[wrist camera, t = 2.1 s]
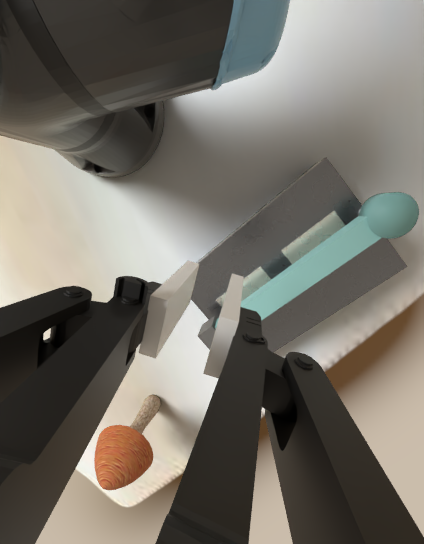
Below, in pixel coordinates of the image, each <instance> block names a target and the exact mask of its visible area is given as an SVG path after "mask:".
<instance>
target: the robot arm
mask: <svg viewBox="0 0 424 544" xmlns="http://www.w3.org/2000/svg"><path fill="white" fill-rule="evenodd" d="M289 3H290V0H0V135H1V136H5V137H9V138H13V139H16V140H20V141H24V142H28V143H32V144H36V145H40V146H44V147H48V148H52V149H54V150H56V151H57V152H58V153H59V154H60V155H62V156H63V157H64V158H65V159H67V160H68V161H69V162H70V163H71V164H73V165H74V166H76V167H78V168H79V169H81V170H83V171H86V172H88V173H91V174H95V175H100V176H106V177H119V176H124V175H127V174H130V173H132V172H134V171H136V170H138V169H139V168H141V167H142V166H143V165H144V164H145V163H146V162H147V161H148V160H149V159H150V158H151V156H152V155H153V153H154V152H155V150H156V148H157V146H158V144H159V141H160V138H161V135H162V131H163V124H164V108H163V101H162V100H166V99H170V98H174V97H178V96H182V95H186V94H190V93H194V92H198V91H202V90H205V89H209V88H211V89H212V90H216V89H218V88H219V87H220V86H221V84H224V83H227V82H230V81H233V80H236V79H239V78H242V77H245V76H248V75H251V74H254V73H256V72H258V71H260V70H262V69H263V68H264V67H265V66H266V65H267V64H268V63H269V62H270V60H271V59H272V57H273V55H274V54H275V52H276V50H277V47H278V44H279V41H280V39H281V37H282V33H283V30H284V26H285V22H286V17H287V13H288V8H289ZM198 268H199V264H198V263H194V262H191V261H187V262H186V263H185V264H184V265H183V266H182V267H181V268H180V269H178V270H177V271H176V272H175V273H174V274H173V275H172V276H171V277H170V278H169V279H168V280H167V281H165V282H164V283H163V284H159V283H156V282H147V281H145V280H143V279H140V278H137V277H132V276H122V277H118V278H116V283H115V290H114V296H113V298H112V299H111V300H110V301H109V302H107V303H103V302H96V301H91V298H92V293H91V292H90V291H89V290H87V289H85V288H81V287H78V286H77V287H76V286H71V287H62V288H58V289H55V290H52V291H49V292H46V293H43V294H40V295H37V296H34V297H31V298H28V299H25V300H22V301H19V302H16V303H14V304H11V305H8V306H5V307H2V308H0V544H35V543H36V541H37V539H38V537H39V535H40V533H41V531H42V530H43V528H44V526H45V524H46V522H47V520H48V518H49V517H50V515H51V513H52V511H53V509H54V507H55V505H56V503H57V502H58V500H59V498H60V496H61V494H62V492H63V490H64V489H65V486H66V485H67V483H68V481H69V479H70V477H71V475H72V474H73V472H74V470H75V468H76V466H77V464H78V462H79V461H80V459H81V457H82V455H83V453H84V451H85V449H86V447H87V446H88V444H89V442H90V440H91V438H92V436H93V434H94V433H95V431H96V429H97V427H98V425H99V423H100V421H101V419H102V418H103V416H104V414H105V412H106V410H107V408H108V406H109V405H110V403H111V401H112V399H113V397H114V395H115V393H116V391H117V390H118V388H119V386H120V384H121V382H122V380H123V378H124V377H125V375H126V373H127V371H128V369H129V367H130V365H131V363H132V362H133V360H134V357H135V352H136V348H137V347H138V345H139V344H140V343H141V345H140V349H139V353H140V354H144V355H147V356H150V357H153V358H156V357H157V355H158V353H159V352H160V350H161V349H162V347H163V345H164V344H165V342H166V340H167V339H168V337H169V336H170V334H171V332H172V331H173V329H174V327H175V326H176V324H177V323H178V321H179V319H180V318H181V316H182V314H183V313H184V311H185V310H186V308H187V306H188V305H189V303H190V300H191V296H192V292H193V288H194V284H195V280H196V276H197V272H198ZM243 278H244V277H243V276H240V275H236V274H233V273H232V275H231V278H230V282H229V285H228V289H227V292H226V295H225V299H224V302H223V306H222V309H221V313H220V316H219V320H218V323H217V327H216V331H215V334H214V338H213V341H212V345H211V348H210V352H209V356H208V359H207V363H206V366H205V370H204V373H203V374H206V375H210V376H213V377H216V378H219V379H218V382H217V385H216V387H215V390H214V393H213V396H212V398H211V401H210V404H209V406H208V409H207V412H206V414H205V417H204V420H203V423H202V425H201V428H200V431H199V433H198V436H197V439H196V441H195V444H194V447H193V450H192V452H191V455H190V458H189V460H188V463H187V466H186V468H185V471H184V474H183V477H182V479H181V482H180V485H179V487H178V490H177V493H176V495H175V498H174V501H173V503H172V506H171V509H170V511H169V514H167V516H166V518H165V521H164V523H163V526H162V528H161V531H160V533H159V536H158V539H157V542H156V544H248V542H249V531H250V521H251V511H252V501H253V490H254V481H255V471H256V460H257V450H258V439H259V430H260V420H261V410H262V407H263V408H265V418H266V422H267V427H268V432H269V436H270V441H271V445H272V450H273V454H274V459H275V463H276V468H277V473H278V477H279V482H280V486H281V491H282V496H283V500H284V505H285V509H286V514H287V518H288V522H289V527H290V532H291V537H292V541H293V544H424V537H423V535H422V534H421V532H420V530H419V529H418V527H417V525H416V524H415V522H414V520H413V519H412V517H411V515H410V514H409V512H408V510H407V509H406V507H405V505H404V504H403V502H402V500H401V499H400V497H399V495H398V494H397V492H396V490H395V489H394V487H393V485H392V484H391V482H390V481H389V479H388V477H387V476H386V474H385V472H384V470H383V469H382V467H381V466H380V464H379V462H378V460H377V459H376V457H375V456H374V454H373V452H372V450H371V449H370V447H369V446H368V444H367V442H366V441H365V439H364V437H363V436H362V434H361V432H360V431H359V429H358V427H357V426H356V424H355V423H354V421H353V419H352V417H351V416H350V414H349V412H348V411H347V409H346V407H345V406H344V404H343V402H342V401H341V399H340V397H339V396H338V394H337V392H336V391H335V389H334V388H333V386H332V384H331V383H330V381H329V379H328V377H327V376H326V374H325V372H324V371H323V369H322V367H321V366H320V365H319V364H318V363H317V362H316V361H315V360H314V359H312V358H311V357H310V356H308V355H306V354H302V353H298V352H290V353H288V354H287V355H286V358H285V359H284V358H282V357H280V356H278V355H276V354H275V353H273V352H271V351H270V350H269V349H268V342H267V340H266V338H265V337H264V336H262V325H261V316H260V315H259V314H258V313H257V312H256V311H253V310H250V309H246V308H243V307H240V306H241V297H242V287H243ZM49 328H51V334H50V338H48V339H46V340H43V333H44V332H45V331H47V330H48V329H49Z"/></svg>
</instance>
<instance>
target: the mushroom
mask: <svg viewBox="0 0 424 544" xmlns="http://www.w3.org/2000/svg"><path fill="white" fill-rule="evenodd" d="M159 407H160V399H159V398H158V397H157V396H155V395H150V396H149V397H147V398H146V399H145V401H144V403H143V405H142V407H141V409H140V411H139V413H138V415H137V417H136V419H135V420H134V422H133V423H132V425H131V426H130V427H128V426H122V425H114V426H110V427H107V428H106V429H104V430H103V431H102V432H101V433H100V435H99V438H98V442H97V446H96V451H95V471H96V476H97V480H98V482H99V484H100V486H101V487H102V488H103V489H106V490H116V489H118V488H122V487H124V486H126V485H128V484H130V483H132V482H134V481H135V480H136V479H138V478H139V477H140V476H141V475H142V474H143V473H144V472H145V471H146V470H147V469H148V468H149V467H150V466H151V464H152V461H153V451H152V448H151V446H150V444H149V442H148V441H147V440H146V438H145V437H144V435H142V433H143V431H144V429H145V427H146V426H147V425H148V423H149V422H150V421H151V420H152V418H153V417H154V416H155V415H156V413H157V412H158V410H159Z"/></svg>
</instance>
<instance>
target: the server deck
mask: <svg viewBox="0 0 424 544" xmlns="http://www.w3.org/2000/svg"><path fill="white" fill-rule="evenodd" d="M362 205H363V204H361V203H360V202H359V201H358V199H357V198H356V197H355V195H354V194H353V193H352V191H351V190H350V189H349V187H348V186H347V185H346V183H345V182H344V181H343V179H342V178H341V177H340V175H339V174H338V173H337V171H336V170H335V169H334V167H333V166H332V164H331V163H330V162H329V160H328V159H327V158H325V159H323V160H321V161H320V162H318V163H316V164H315V165H314V166H312V167H311V168H310V169H309V170H308V171H306V172H305V173H304V174H303V175H301V176H300V177H299V178H298V179H297V180H295V181H294V182H293V183H292V184H291V185H289V186H288V187H287V188H286V189H285V190H283V191H282V192H281V193H280V194H279V195H277V196H276V197H275V198H274V199H272V200H271V201H270V202H269V203H268V204H266V205H265V206H264V207H263V208H262V209H260V210H259V211H258V212H257V213H256V214H254V215H253V216H252V217H251V218H250V219H248V220H247V221H246V222H245V223H243V224H242V225H241V226H240V227H239V228H237V229H236V230H235V231H234V232H233V233H231V234H230V235H229V236H228V237H227V238H225V239H224V240H223V241H222V242H221V243H219V244H218V245H217V246H216V247H215V248H213V249H212V250H211V251H210V252H208V253H207V254H206V255H205V256H204V257H202V258H201V259H200V260H199V261H198V262H196V263H198V264H199V268H198V272H197V276H196V280H195V284H194V288H193V292H192V296H191V300H192V301H193V302H194V303H195V304H196V305H197V306H198V308H199V309H200V310H201V311H202V312H203V313H204V314H205V316H206V317H207V318H208V319H209V320H210V319H211V318H212V317H214V316H216V317H217V319H218V318H219V316H220V313H221V309H222V306H223V302H224V299H225V295H226V292H227V289H228V285H229V282H230V278H231V275H232V273H233V274H236V275H240V276H243V277H244V278H243V287H242V297H241V301H243V300H244V299H246V298H247V297H248V296H250V295H251V294H252V293H254V292H255V291H256V290H258V289H259V288H261V287H262V286H263V285H265V284H266V283H267V282H269V281H270V280H272V279H273V278H274V277H276V276H277V275H278V274H280V273H281V272H283V271H284V270H285V269H287V268H288V267H289V266H291V265H292V264H293V263H295V262H296V261H298V260H299V259H300V258H302V257H303V256H304V255H306V254H307V253H309V252H310V251H311V250H313V249H314V248H315V247H317V246H318V245H320V244H321V243H322V242H324V241H325V240H326V239H328V238H329V237H331V236H332V235H333V234H335V233H336V232H337V231H339V230H340V229H341V228H343V227H344V226H346V225H347V224H348V223H350V222H351V221H352V220H354V219H355V218H357V217H358V216H359V212H360V209H361V207H362ZM406 267H407V265H406V264H405V263H404V261H403V260H402V259H401V257H400V256H399V255H398V253H397V252H396V251H395V249H394V248H393V246H392V245H391V244H390V242H389V241H388V240H387V238H383V237H382V238H381V239H379V240H378V241H376V242H375V243H374V244H372V245H371V246H369V247H368V248H366V249H365V250H363V251H362V252H360V253H359V254H358V255H356V256H355V257H353V258H352V259H350V260H349V261H347V262H346V263H344V264H343V265H342V266H340V267H339V268H337V269H336V270H334V271H333V272H331V273H330V274H328V275H327V276H326V277H324V278H323V279H321V280H320V281H318V282H317V283H315V284H314V285H312V286H311V287H310V288H308V289H307V290H305V291H304V292H302V293H301V294H299V295H298V296H296V297H295V298H294V299H292V300H291V301H289V302H288V303H286V304H285V305H283V306H282V307H280V308H279V309H277V310H276V311H275V312H273V313H272V314H270V315H269V316H267V317H266V318H264V319H263V320H261V325H262V336H264V337H265V338H266V340H267V342H268V349H269V350H270V351H271V352H274V351H276V350H277V349H279V348H280V347H282V346H283V345H285V344H287V343H288V342H290V341H291V340H293V339H294V338H296V337H298V336H299V335H301V334H302V333H304V332H305V331H307V330H309V329H310V328H312V327H313V326H315V325H316V324H318V323H320V322H321V321H323V320H324V319H326V318H327V317H329V316H331V315H332V314H334V313H335V312H337V311H338V310H340V309H341V308H343V307H345V306H346V305H348V304H349V303H351V302H352V301H354V300H356V299H357V298H359V297H360V296H362V295H363V294H365V293H367V292H368V291H370V290H371V289H373V288H374V287H376V286H378V285H379V284H381V283H382V282H384V281H385V280H387V279H389V278H390V277H392V276H393V275H395V274H396V273H398V272H399V271H401V270H403V269H404V268H406Z"/></svg>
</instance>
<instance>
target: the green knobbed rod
mask: <svg viewBox="0 0 424 544" xmlns="http://www.w3.org/2000/svg"><path fill="white" fill-rule="evenodd" d="M418 215H419V209H418V205H417V203H416V201H415V200H414V199H413V198H412V197H411V196H410V195H408V194H405V193H401V192H394V193H381V194H377V195H374V196H372V197H370V198H369V199H368V200H366V201H365V203H364V204H363V205H362V207H361V209H360V212H359V216H358V217H357V218H355V219H354V220H352V221H351V222H350V223H348V224H347V225H346V226H344V227H343V228H341V229H340V230H339V231H337V232H336V233H335V234H333V235H332V236H331V237H329V238H328V239H326V240H325V241H324V242H322V243H321V244H320V245H318V246H317V247H315V248H314V249H313V250H311V251H310V252H309V253H307V254H306V255H304V256H303V257H302V258H300V259H299V260H298V261H296V262H295V263H293V264H292V265H291V266H289V267H288V268H287V269H285V270H284V271H283V272H281V273H280V274H278V275H277V276H276V277H274V278H273V279H272V280H270V281H269V282H267V283H266V284H265V285H263V286H262V287H261V288H259V289H258V290H256V291H255V292H254V293H252V294H251V295H250V296H248V297H247V298H246V299H244V300H243V301H241V306H240V307H243V308H246V309H250V310H253V311H256V312H257V313H258V314H259V315H260V316H261V320H263V319H264V318H266V317H267V316H269V315H270V314H272V313H273V312H275V311H276V310H277V309H279V308H280V307H282V306H283V305H285V304H286V303H288V302H289V301H291V300H292V299H294V298H295V297H296V296H298V295H299V294H301V293H302V292H304V291H305V290H307V289H308V288H310V287H311V286H312V285H314V284H315V283H317V282H318V281H320V280H321V279H323V278H324V277H326V276H327V275H328V274H330V273H331V272H333V271H334V270H336V269H337V268H339V267H340V266H342V265H343V264H344V263H346V262H347V261H349V260H350V259H352V258H353V257H355V256H356V255H358V254H359V253H360V252H362V251H363V250H365V249H366V248H368V247H369V246H371V245H372V244H374V243H375V242H376V241H378V240H379V239H381V238H382V237H383V238H390V239H391V238H398V237H401V236H403V235H405V234H406V233H408V232H409V231H410V230H411V229H412V228H413V227H414V225H415V224H416V222H417V219H418ZM218 320H219V318H218V319H217V317H216V316H214V317H212V318H211V319H210V320H208V321H207V322H206V323H204V324H203V325H202V327H201V329H200V332H199V334H198V337H199V338H200V339H201V340H202V341H203V343H204V344H205V345H206V346H207V347H208V348H209V349H210V348H211V345H212V341H213V338H214V334H215V331H216V327H217V323H218Z"/></svg>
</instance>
